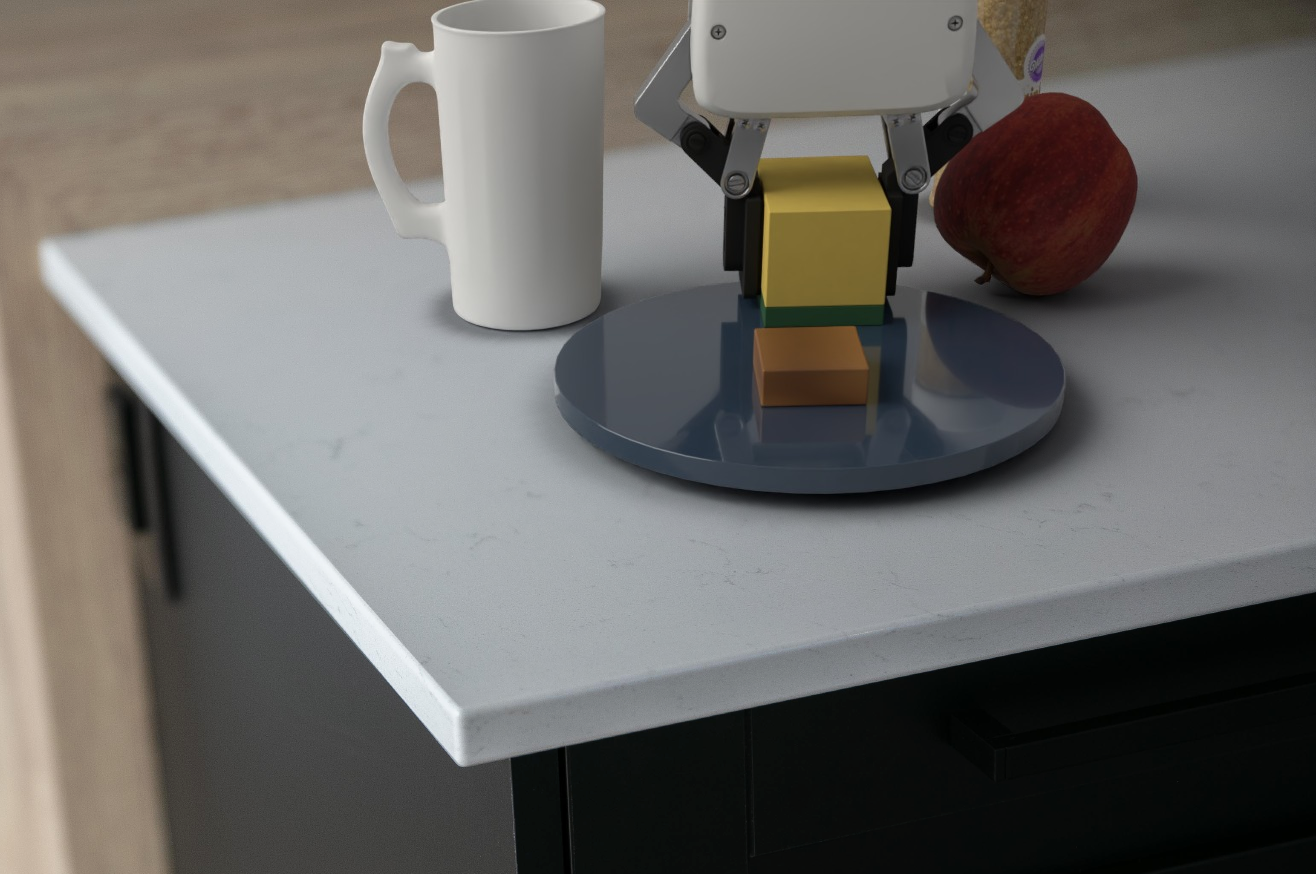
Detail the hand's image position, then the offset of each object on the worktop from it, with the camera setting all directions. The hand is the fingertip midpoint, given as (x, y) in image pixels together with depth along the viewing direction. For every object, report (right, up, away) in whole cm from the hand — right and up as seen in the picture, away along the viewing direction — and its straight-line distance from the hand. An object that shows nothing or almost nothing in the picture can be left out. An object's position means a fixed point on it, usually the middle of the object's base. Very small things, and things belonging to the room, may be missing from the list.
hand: (815, 281), depth 73 cm
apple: (+9, 0, +4) cm, 10 cm away
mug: (-12, 0, +6) cm, 14 cm away
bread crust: (-2, -5, -7) cm, 9 cm away
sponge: (0, 0, 0) cm, 1 cm away
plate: (-2, -5, -5) cm, 7 cm away
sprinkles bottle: (+10, +6, +13) cm, 18 cm away
